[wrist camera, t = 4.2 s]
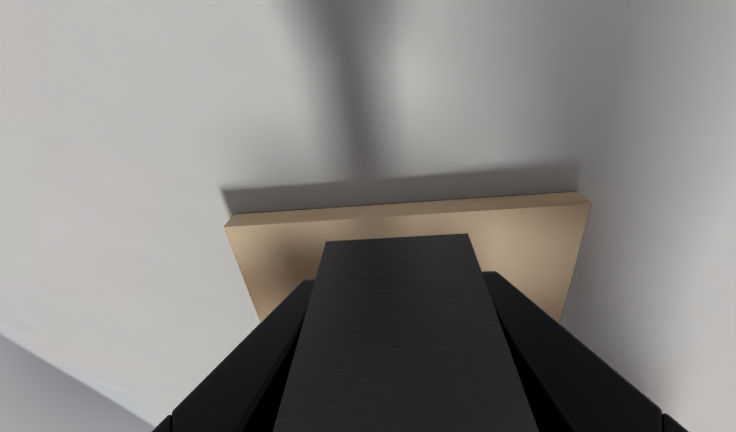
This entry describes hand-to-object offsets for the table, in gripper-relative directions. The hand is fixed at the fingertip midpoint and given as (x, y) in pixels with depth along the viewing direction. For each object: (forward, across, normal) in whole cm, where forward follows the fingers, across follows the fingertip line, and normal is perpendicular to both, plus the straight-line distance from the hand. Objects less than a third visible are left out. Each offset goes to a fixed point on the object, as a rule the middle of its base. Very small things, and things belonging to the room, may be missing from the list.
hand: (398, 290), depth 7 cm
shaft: (+1, 0, +7) cm, 7 cm away
